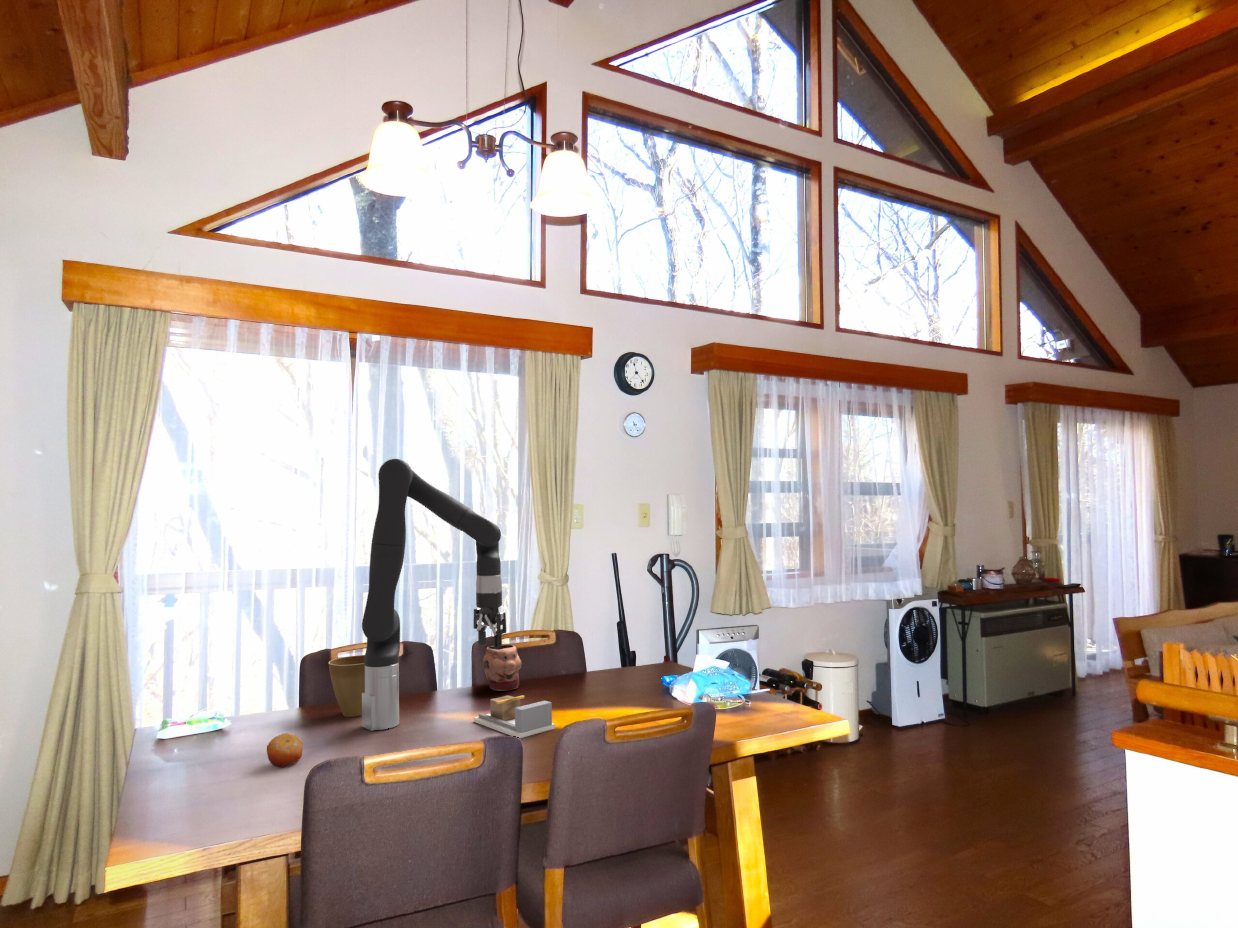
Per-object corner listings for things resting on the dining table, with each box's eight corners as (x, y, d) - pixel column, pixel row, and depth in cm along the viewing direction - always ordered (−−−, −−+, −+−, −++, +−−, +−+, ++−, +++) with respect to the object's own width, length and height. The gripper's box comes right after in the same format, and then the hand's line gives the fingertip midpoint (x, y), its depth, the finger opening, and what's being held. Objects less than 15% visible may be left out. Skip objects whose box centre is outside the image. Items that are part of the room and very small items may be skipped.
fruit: (288, 749, 190) (296, 724, 188) (302, 771, 186) (310, 746, 184) (256, 758, 184) (264, 732, 182) (269, 781, 180) (278, 755, 177)
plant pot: (389, 706, 234) (388, 654, 235) (368, 720, 219) (368, 664, 220) (342, 706, 235) (342, 654, 236) (319, 720, 221) (319, 664, 221)
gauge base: (518, 738, 200) (518, 710, 200) (473, 721, 216) (473, 695, 216) (554, 728, 208) (554, 701, 208) (509, 712, 224) (508, 688, 224)
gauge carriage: (497, 722, 209) (497, 701, 210) (486, 718, 214) (485, 698, 214) (524, 715, 215) (524, 695, 216) (512, 711, 220) (512, 692, 220)
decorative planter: (472, 684, 260) (471, 643, 260) (504, 679, 267) (503, 639, 268) (498, 696, 244) (498, 652, 244) (532, 690, 251) (531, 647, 251)
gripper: (465, 589, 226) (466, 644, 225) (490, 593, 215) (491, 651, 214) (487, 587, 231) (488, 641, 230) (513, 591, 220) (514, 647, 219)
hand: (489, 646), depth 222 cm, fingers open, 8 cm apart
